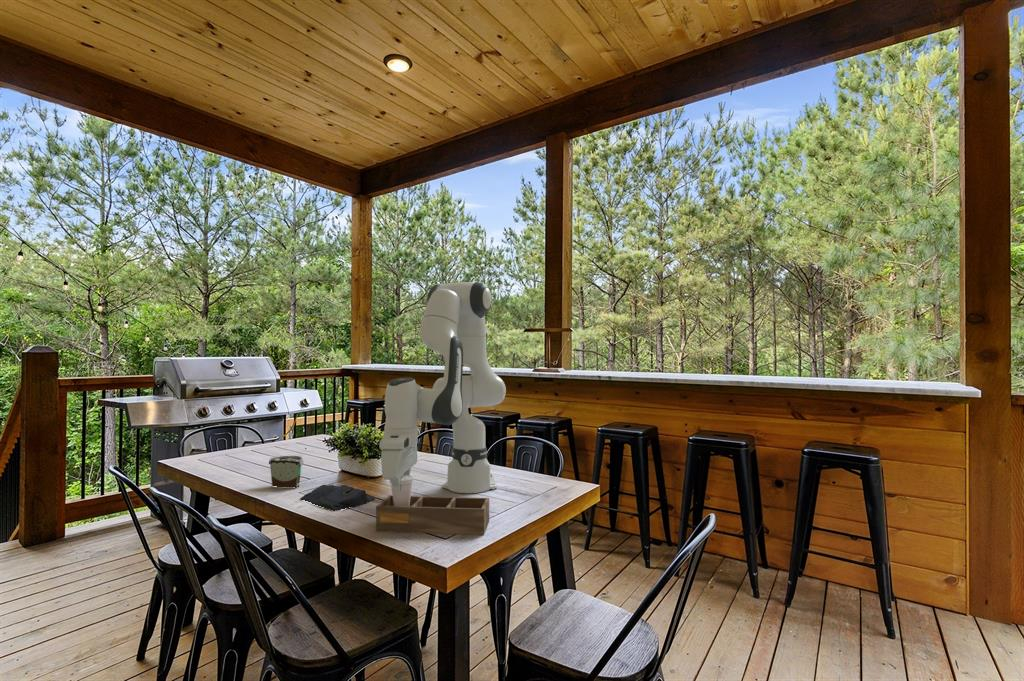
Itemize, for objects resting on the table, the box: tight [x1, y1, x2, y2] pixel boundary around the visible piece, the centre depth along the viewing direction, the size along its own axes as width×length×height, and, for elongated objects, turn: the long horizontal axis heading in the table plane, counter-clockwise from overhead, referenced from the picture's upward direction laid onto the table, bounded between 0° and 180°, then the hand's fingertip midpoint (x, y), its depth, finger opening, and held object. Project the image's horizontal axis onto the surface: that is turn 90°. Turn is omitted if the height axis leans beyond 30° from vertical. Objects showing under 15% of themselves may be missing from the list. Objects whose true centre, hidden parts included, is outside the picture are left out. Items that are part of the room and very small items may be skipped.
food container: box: [268, 455, 304, 489], centre depth 176 cm, size 12×6×10 cm, turn 80°
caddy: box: [375, 495, 490, 536], centre depth 135 cm, size 10×29×6 cm, turn 85°
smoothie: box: [389, 474, 414, 506], centre depth 136 cm, size 6×6×14 cm
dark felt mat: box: [299, 484, 376, 512], centre depth 159 cm, size 15×22×5 cm
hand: (401, 488), depth 136 cm, fingers closed on smoothie, 6 cm apart
